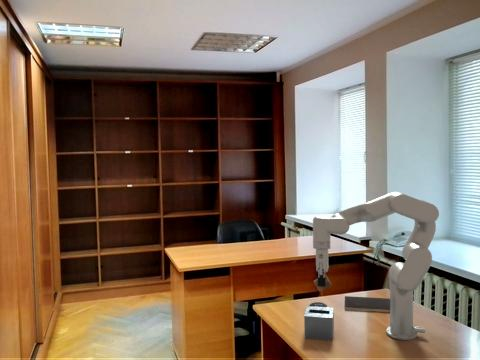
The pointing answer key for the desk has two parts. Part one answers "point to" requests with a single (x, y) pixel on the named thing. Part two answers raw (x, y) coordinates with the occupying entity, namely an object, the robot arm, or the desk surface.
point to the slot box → (319, 323)
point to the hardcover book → (367, 304)
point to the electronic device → (318, 304)
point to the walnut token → (327, 284)
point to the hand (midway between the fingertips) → (321, 285)
